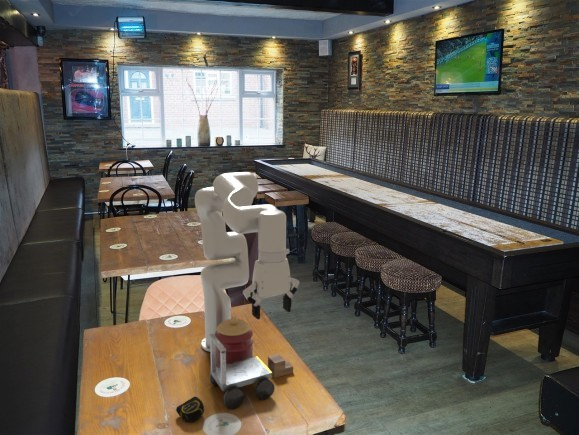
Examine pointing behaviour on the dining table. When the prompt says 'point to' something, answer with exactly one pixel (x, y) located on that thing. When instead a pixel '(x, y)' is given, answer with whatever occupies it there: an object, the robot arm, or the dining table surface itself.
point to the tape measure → (191, 409)
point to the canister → (234, 340)
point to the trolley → (238, 376)
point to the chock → (279, 365)
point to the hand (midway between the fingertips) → (271, 313)
